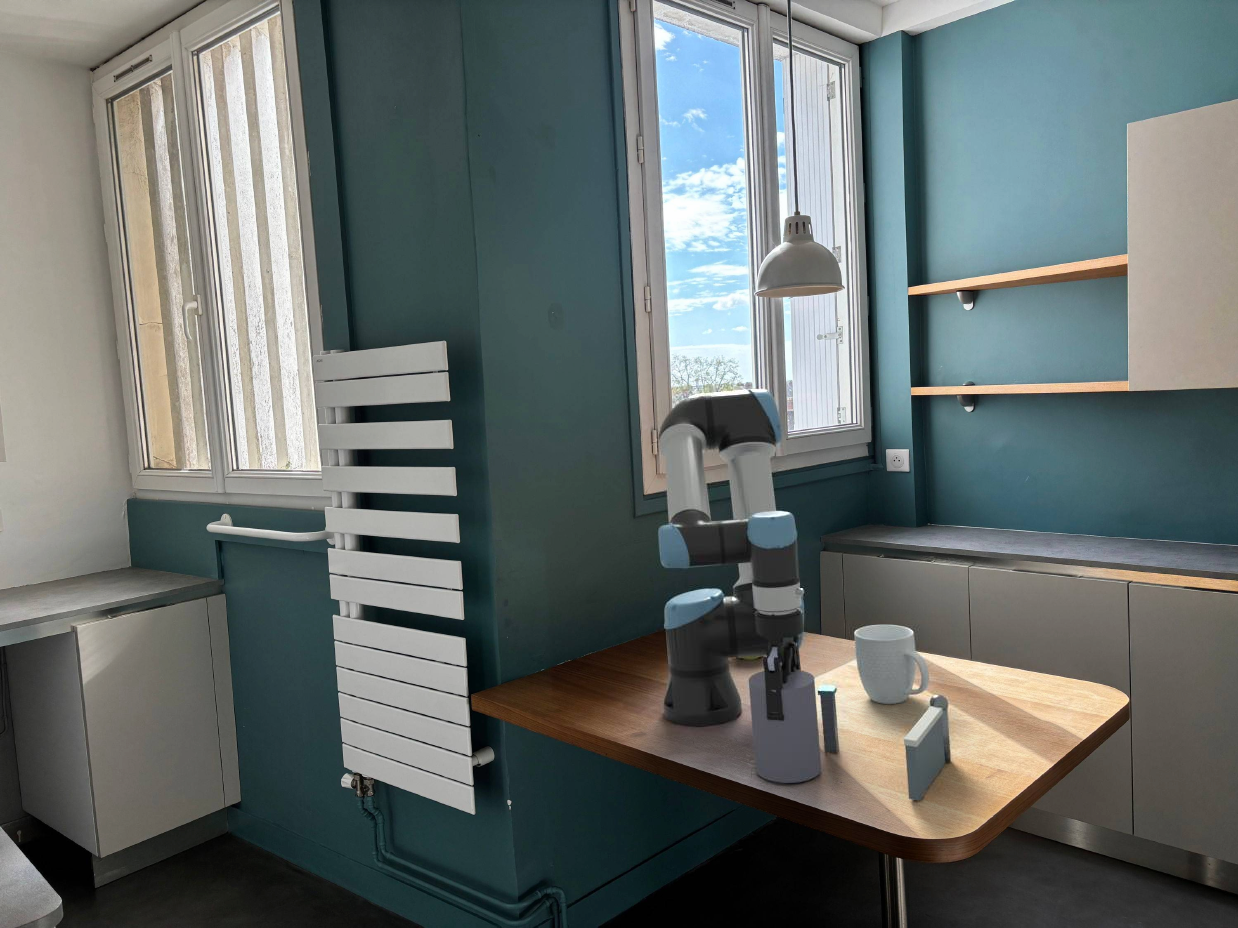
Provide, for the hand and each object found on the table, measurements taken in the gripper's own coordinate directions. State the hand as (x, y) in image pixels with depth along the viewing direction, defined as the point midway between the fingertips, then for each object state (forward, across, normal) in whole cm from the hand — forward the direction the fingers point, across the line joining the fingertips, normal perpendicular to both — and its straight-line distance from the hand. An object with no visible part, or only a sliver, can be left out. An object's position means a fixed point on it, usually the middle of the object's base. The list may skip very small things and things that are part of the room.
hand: (789, 748), depth 140 cm
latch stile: (+3, +8, -5) cm, 10 cm away
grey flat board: (+3, 0, -21) cm, 21 cm away
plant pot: (+4, +57, +24) cm, 62 cm away
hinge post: (+3, +8, -22) cm, 24 cm away
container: (+3, -1, 0) cm, 3 cm away
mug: (+3, +34, -12) cm, 36 cm away
